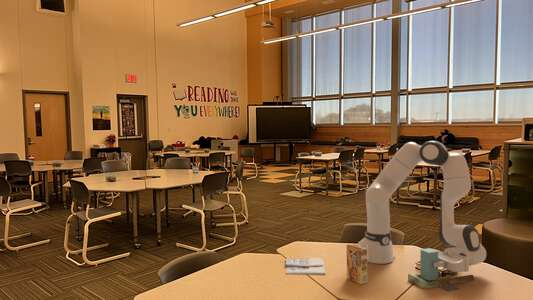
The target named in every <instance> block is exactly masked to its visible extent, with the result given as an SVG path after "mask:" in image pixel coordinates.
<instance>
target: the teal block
mask: <svg viewBox="0 0 533 300" xmlns="http://www.w3.org/2000/svg"><path fill="white" fill-rule="evenodd" d="M433 249H434V248H421V249H420V263H419V264H420V267H419V268H420V270H419V271H420V272H419V274H420V277H422V278H424V279H423V280H425V281H427V282H431V281H437V280H438V279H439V276H438V269H439V267H434V266H432V262H434V261H435V262H438V251H436V250H437V249H436V250H433Z"/></svg>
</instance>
